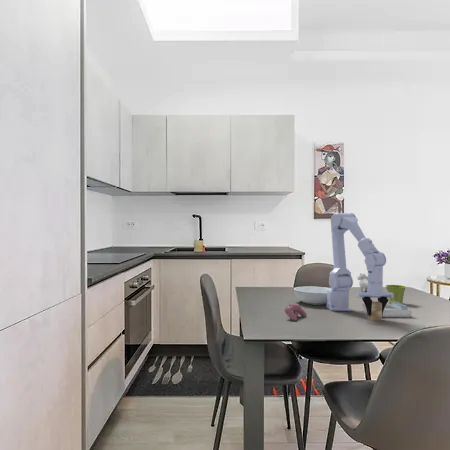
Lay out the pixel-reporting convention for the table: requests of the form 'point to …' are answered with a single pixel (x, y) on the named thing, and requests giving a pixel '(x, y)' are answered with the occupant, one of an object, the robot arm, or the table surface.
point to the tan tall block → (376, 311)
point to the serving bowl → (312, 294)
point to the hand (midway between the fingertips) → (374, 315)
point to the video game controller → (294, 311)
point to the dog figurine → (363, 281)
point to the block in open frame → (394, 310)
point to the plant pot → (396, 292)
